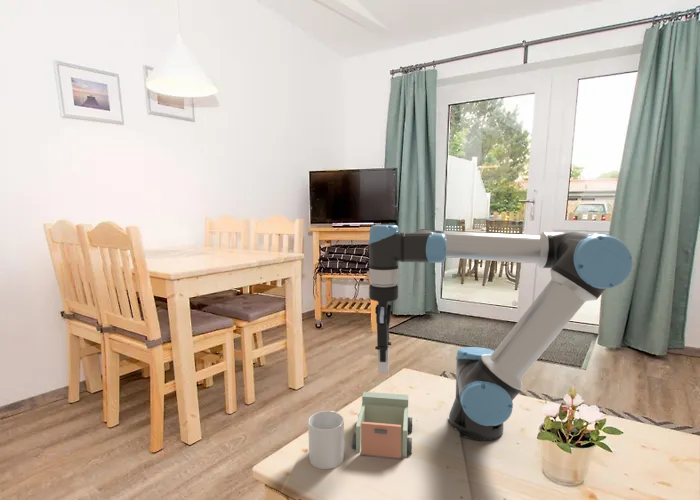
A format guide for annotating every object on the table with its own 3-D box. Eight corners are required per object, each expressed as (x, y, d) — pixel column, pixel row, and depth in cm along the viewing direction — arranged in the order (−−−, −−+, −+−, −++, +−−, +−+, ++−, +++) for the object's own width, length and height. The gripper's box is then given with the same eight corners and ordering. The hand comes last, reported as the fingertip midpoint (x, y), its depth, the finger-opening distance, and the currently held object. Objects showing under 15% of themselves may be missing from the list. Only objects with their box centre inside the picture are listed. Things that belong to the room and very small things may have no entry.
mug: (340, 475, 94) (340, 431, 93) (305, 471, 95) (304, 428, 94) (348, 445, 106) (348, 406, 105) (316, 442, 107) (316, 403, 106)
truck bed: (412, 428, 114) (412, 395, 113) (411, 460, 99) (411, 423, 98) (359, 423, 116) (359, 391, 115) (351, 454, 102) (351, 418, 100)
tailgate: (401, 459, 99) (401, 424, 99) (401, 462, 97) (401, 428, 97) (360, 454, 101) (361, 421, 100) (360, 458, 99) (360, 424, 99)
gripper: (372, 278, 109) (372, 360, 112) (365, 289, 96) (366, 381, 98) (399, 279, 108) (398, 361, 111) (396, 290, 94) (396, 383, 97)
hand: (383, 370), depth 104 cm, fingers closed
